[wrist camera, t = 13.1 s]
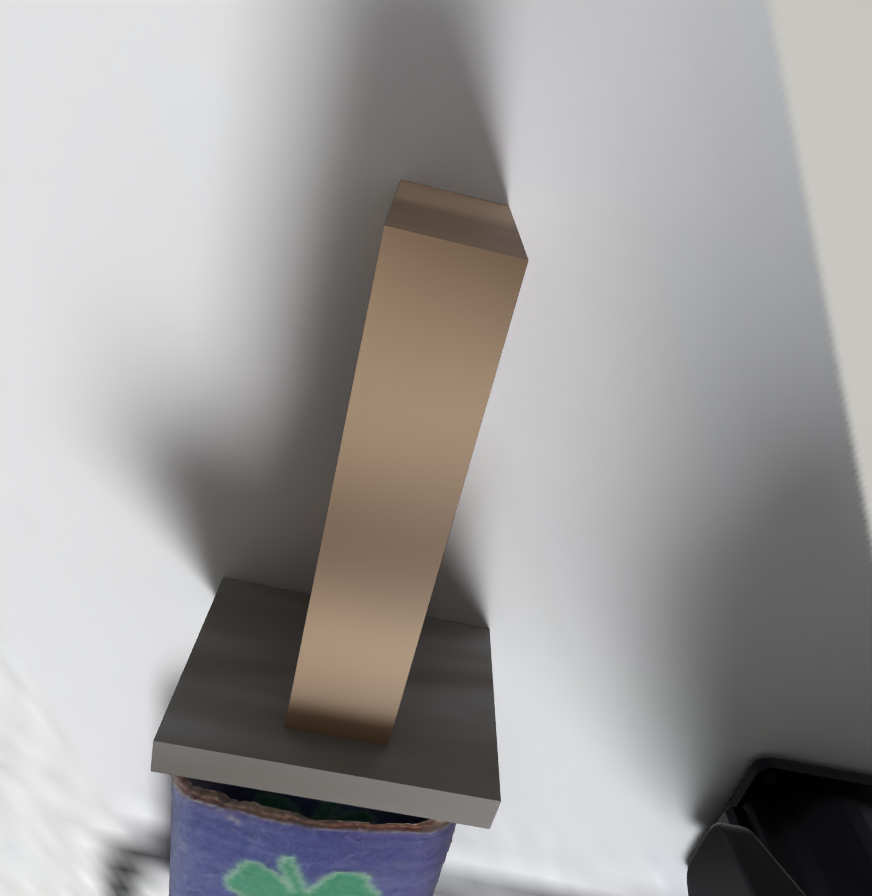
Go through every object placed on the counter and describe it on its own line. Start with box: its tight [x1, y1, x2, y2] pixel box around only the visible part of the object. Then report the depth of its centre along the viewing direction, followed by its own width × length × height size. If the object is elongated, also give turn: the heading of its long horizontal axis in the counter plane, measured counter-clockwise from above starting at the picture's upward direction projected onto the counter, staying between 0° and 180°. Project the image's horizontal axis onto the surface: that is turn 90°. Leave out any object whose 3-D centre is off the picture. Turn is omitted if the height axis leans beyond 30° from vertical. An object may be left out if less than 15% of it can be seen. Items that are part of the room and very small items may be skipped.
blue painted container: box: [169, 775, 456, 896], centre depth 27 cm, size 9×3×11 cm
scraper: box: [151, 180, 528, 829], centre depth 18 cm, size 13×8×6 cm, turn 167°
